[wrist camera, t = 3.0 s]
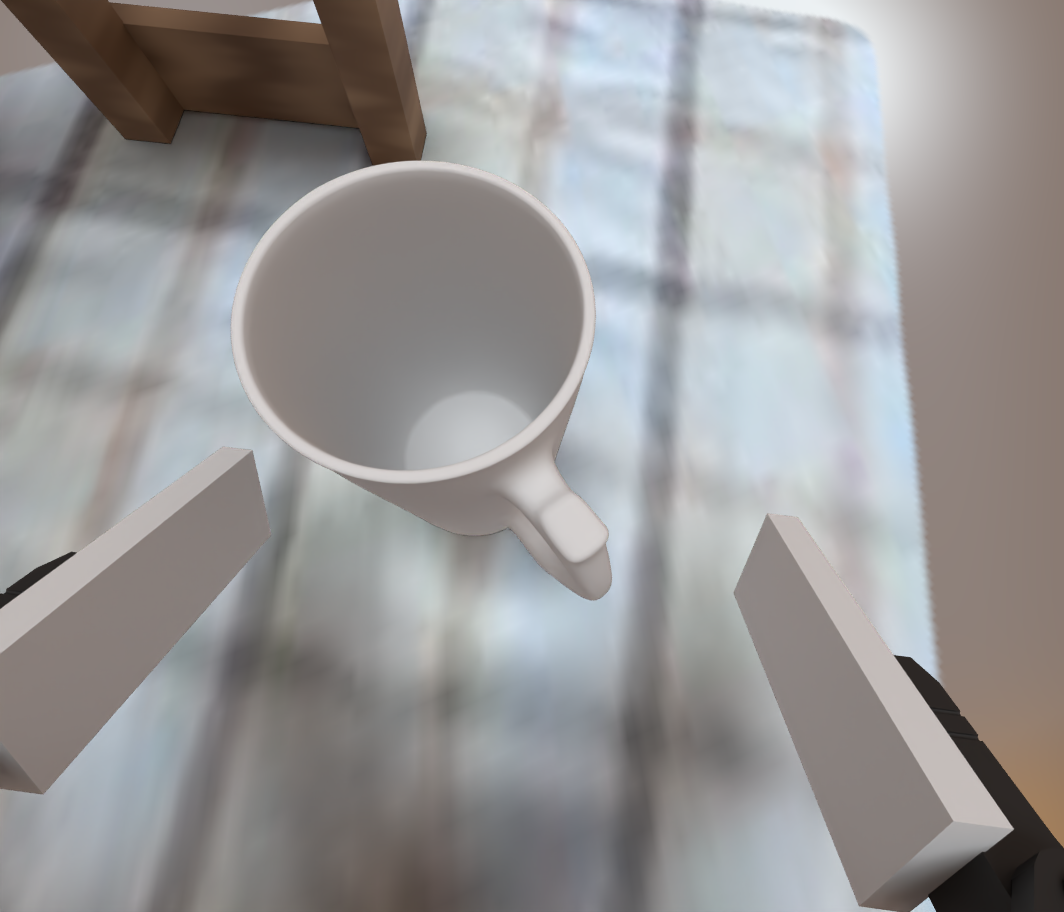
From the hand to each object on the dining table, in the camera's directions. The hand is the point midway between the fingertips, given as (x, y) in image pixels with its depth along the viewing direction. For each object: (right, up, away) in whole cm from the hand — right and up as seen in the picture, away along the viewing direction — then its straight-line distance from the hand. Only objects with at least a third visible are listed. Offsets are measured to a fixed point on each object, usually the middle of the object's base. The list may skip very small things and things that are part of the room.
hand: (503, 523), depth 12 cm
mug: (-1, 0, +8) cm, 8 cm away
